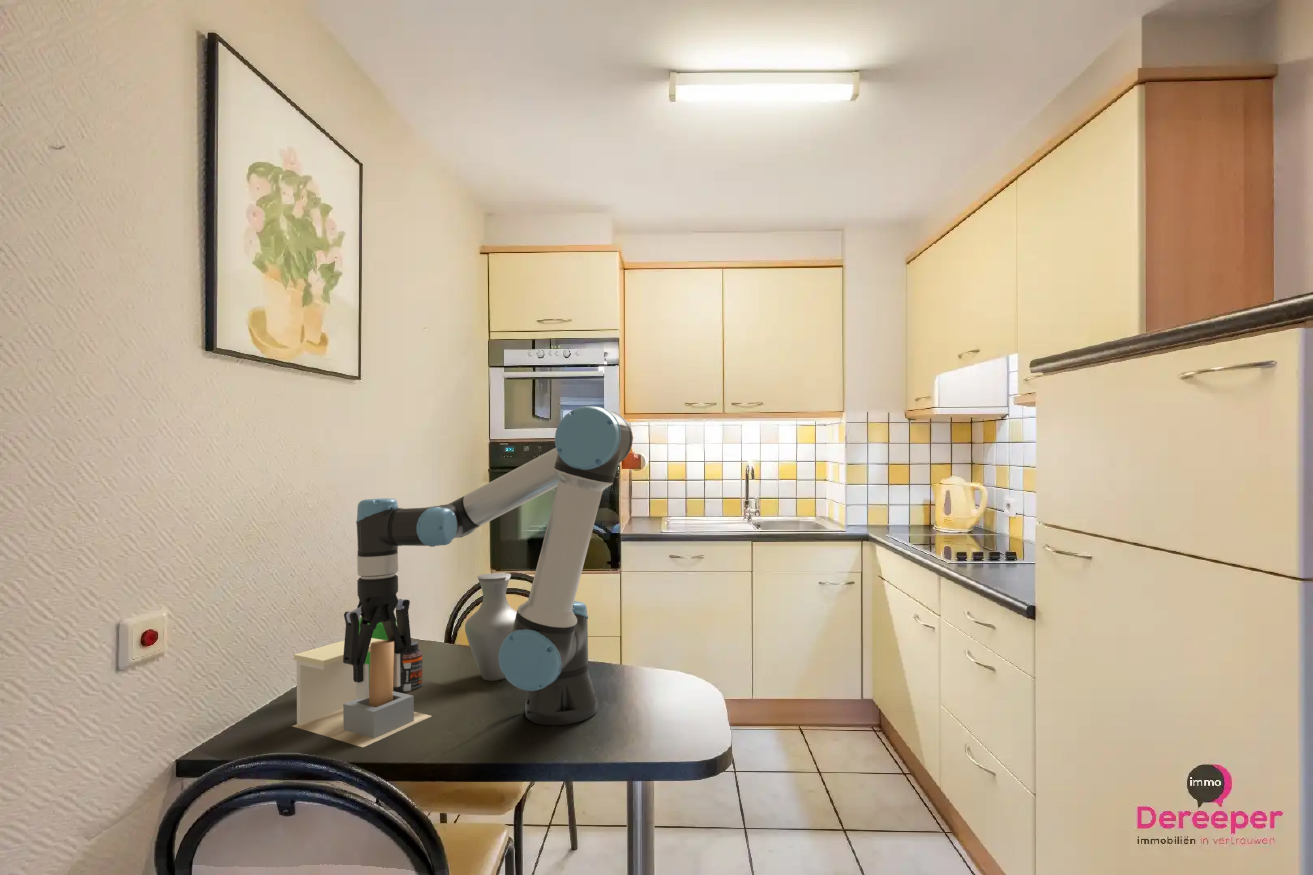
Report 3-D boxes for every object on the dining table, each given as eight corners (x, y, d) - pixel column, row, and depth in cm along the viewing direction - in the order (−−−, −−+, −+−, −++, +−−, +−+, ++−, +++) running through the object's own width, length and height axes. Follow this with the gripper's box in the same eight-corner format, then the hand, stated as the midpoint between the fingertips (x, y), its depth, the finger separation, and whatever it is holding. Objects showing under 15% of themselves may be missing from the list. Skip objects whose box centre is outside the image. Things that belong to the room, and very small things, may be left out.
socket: (413, 720, 129) (413, 695, 129) (374, 738, 121) (373, 711, 121) (383, 713, 133) (383, 688, 134) (343, 729, 125) (343, 703, 126)
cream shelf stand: (389, 706, 137) (388, 640, 137) (323, 733, 124) (323, 660, 124) (360, 699, 142) (360, 635, 142) (294, 724, 128) (293, 654, 129)
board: (432, 721, 131) (432, 715, 131) (363, 753, 117) (363, 747, 117) (362, 704, 142) (362, 698, 142) (292, 731, 128) (292, 725, 128)
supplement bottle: (413, 697, 146) (412, 647, 146) (390, 695, 147) (389, 646, 147) (427, 688, 152) (427, 639, 152) (405, 686, 153) (404, 639, 153)
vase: (485, 665, 168) (483, 569, 168) (535, 668, 164) (533, 570, 165) (453, 684, 154) (452, 579, 155) (507, 688, 150) (505, 581, 151)
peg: (396, 722, 128) (399, 641, 129) (378, 730, 124) (380, 646, 126) (382, 718, 130) (384, 639, 132) (363, 725, 127) (365, 643, 128)
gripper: (405, 566, 139) (406, 673, 138) (320, 582, 122) (321, 705, 121) (429, 568, 135) (431, 678, 134) (345, 585, 118) (346, 711, 117)
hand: (378, 691), depth 127 cm, fingers open, 7 cm apart
